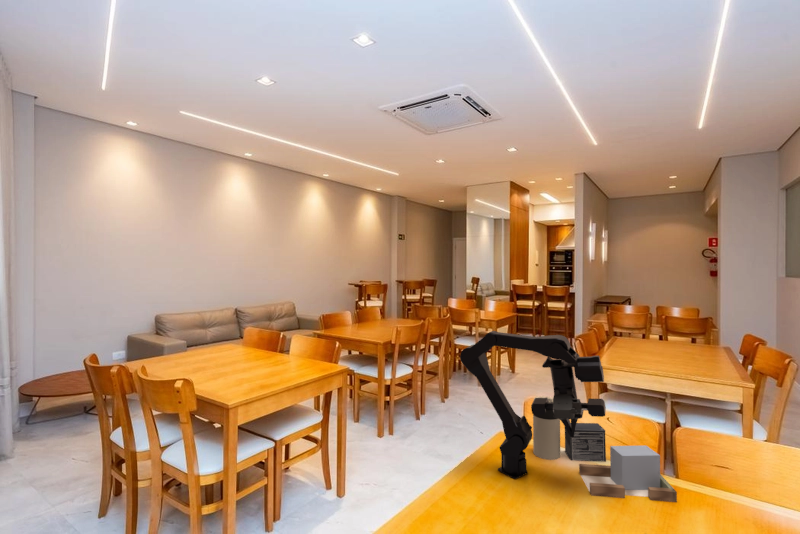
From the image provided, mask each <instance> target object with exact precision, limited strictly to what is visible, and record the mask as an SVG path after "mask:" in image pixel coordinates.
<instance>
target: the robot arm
mask: <svg viewBox="0 0 800 534" xmlns="http://www.w3.org/2000/svg"><path fill="white" fill-rule="evenodd" d="M493 347H501V348H509V349H514V350H515V349H516V350H522V351H530V352H535V353H538V354H540V355H542V356H544V357H547V358H546V360H545V361H543V364H542V365H541V367H542V368H543V369H544V368H550V374H551V381H552V386H553V396H552V397H553V402H549V401H548V398H535V397H534V398H535V399H534V398H533V401H532V403H531V407H530V408H531V409H530V410H531V414H532V415H533V414H534V415H543V414H544V413H545V412H546V409H549V410H553V411H554V417H555V418H557V419H560V422H561V423H562V424H563V426H564V429H565V428H566V430H567V431H568V433H569V435H570V437H574V433H575V428H576V423H578V420H579V419H583V415H584V411H587V412H588V414H589V416H591V417H597V418H598V417H600V418H601V417H605V416H606V409H607V408H606V402H605V400H604V399H603V398H588V400H587V402H581V399H579V398H578V395H577V388H576V381H575V379H577V381H580V383H604V382H605V375H604V367H603V365H602V361H601V356H600V355H592V356H591V355H590V356H580V355H579V353H577V351H576V350H574V349H573V347H572V346H571V342H570V341H569V339H568V338H567V337H566V336H565V335H562V334H555V335H542V336H533V335H532V336H531V335H524V334H516V333H509V332H508V333H507V332H500V331H499V332H498V331H497V330H492V331H489V332H487V333H486V334H485V336H483V337H482V338H480V339H479V340H478V341H477V342H476V343H475V344H471V345H469V346H467V347H465V348H464V349H462V350H461V352H460V355H459V360H460V362H461V363H462V365H463V366H464V367H465V368H466V369H467V371H468V372H469V373H470V374H471V375H473V376H474V377H475V378H476V380H477V381H478V382H479V385H480V386H481V388H482V389H483V392H484V393H485V394H486V396H487V398H488V400H489V402H490V403H491V405H492V407H493V409H494V410H495V412H496V414H497V415H498V417H499V419H500V421H501V423H502V424H501V425H502V427H503V433H504V437H505V439H504V440H503V442H502V443H501V444H500V445H499V451H500V454H501V455H500V457H501V458H500V459H501V466H500V467H498V468H497V471H499V472H501V473H502V474H505V475H506V476H508V477H509V478H512V479H514V480H515V479H519V478H521V477H523V476H525V475H527V474H528V470H527V458H526V452H525V450H526V449H527V447H528V446H529V444H530V442H531V440H532V439H533V429H532V428H533V426H531V425H530V423H529V422H528V419H527V418H526V416H525V415H522V416H520V415H518V414H517V412H515V411H514V409H513V407H512V405H511V404H510V402H509V400H508V399H507V397H506V395H505V394H504V392H503V390H502V389H501V387H500V385H499V384H498V382H497V380H496V378H495V377H494V374H493V373H492V371H491V369H490V366H489V365H490V364H489V360H488V357H487V355H486V353H488V351H490V350H491V349H493ZM574 376H575V377H574ZM570 423H571V424H570Z"/></svg>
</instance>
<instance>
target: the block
mask: <svg viewBox="0 0 800 534" xmlns="http://www.w3.org/2000/svg"><path fill="white" fill-rule="evenodd" d="M609 450H610V454H609V455H610V465H609V466H611V479H612V480H613V481H614V482H615V483H616V484H617V485H623V486H624V488H625V490H648V487H656V488H660V474H661V455H660V454H659V453H658V452H656V451H654V450H653V449H652V448H650V447H649V446H648V445H610V448H609Z"/></svg>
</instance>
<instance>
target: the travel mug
mask: <svg viewBox="0 0 800 534" xmlns="http://www.w3.org/2000/svg"><path fill="white" fill-rule="evenodd" d="M553 397H554V396H544V395H542V396H541V395H540V396H536V397H534V398H533V400H534V399H535V398H548V401H549V402H553ZM532 422H533V423H532V428H533V429H532V439H533V443H532V445H533V455H534V456H536V457H538V458H540V459H543V460H548V461H551V460H552V461H554V460H559V458H561V420H560V419H557V418H555V417H554V411H553V410H549V409H546V412H545V413H544V414H543V415H534V414H532Z"/></svg>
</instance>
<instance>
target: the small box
mask: <svg viewBox="0 0 800 534" xmlns="http://www.w3.org/2000/svg"><path fill="white" fill-rule="evenodd" d="M570 424H571V422H570ZM606 449H607V448H606V429H605V428H604V427H603V426H602V425H601V424H599V423H595V422H577V423H576V428H575V433H574V437H570V435H569V433H568V431H567V430H566V428H565V427H564V452H565V454H566V455H567V457H568V459H569V460H570V461H573V462H574V461H576V462H577V461H579V462H580V461H581V462H605V463H606V462H607V454H606V453H607V451H606Z"/></svg>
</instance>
